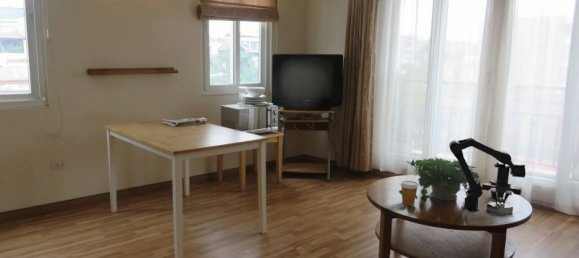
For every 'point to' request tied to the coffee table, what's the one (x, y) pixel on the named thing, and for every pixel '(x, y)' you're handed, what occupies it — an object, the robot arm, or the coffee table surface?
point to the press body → (499, 208)
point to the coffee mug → (499, 194)
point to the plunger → (500, 200)
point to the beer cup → (409, 192)
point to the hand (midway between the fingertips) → (500, 204)
